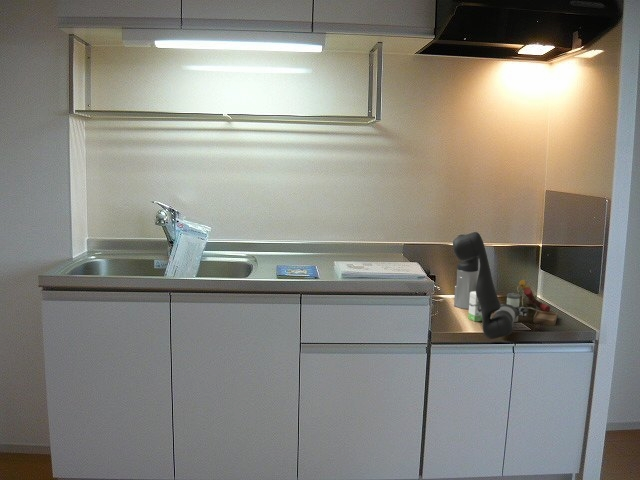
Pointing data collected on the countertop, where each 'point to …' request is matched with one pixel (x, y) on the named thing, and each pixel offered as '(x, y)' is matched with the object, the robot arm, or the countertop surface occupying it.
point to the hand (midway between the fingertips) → (512, 306)
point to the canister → (513, 301)
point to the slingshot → (531, 297)
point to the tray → (545, 317)
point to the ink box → (475, 308)
